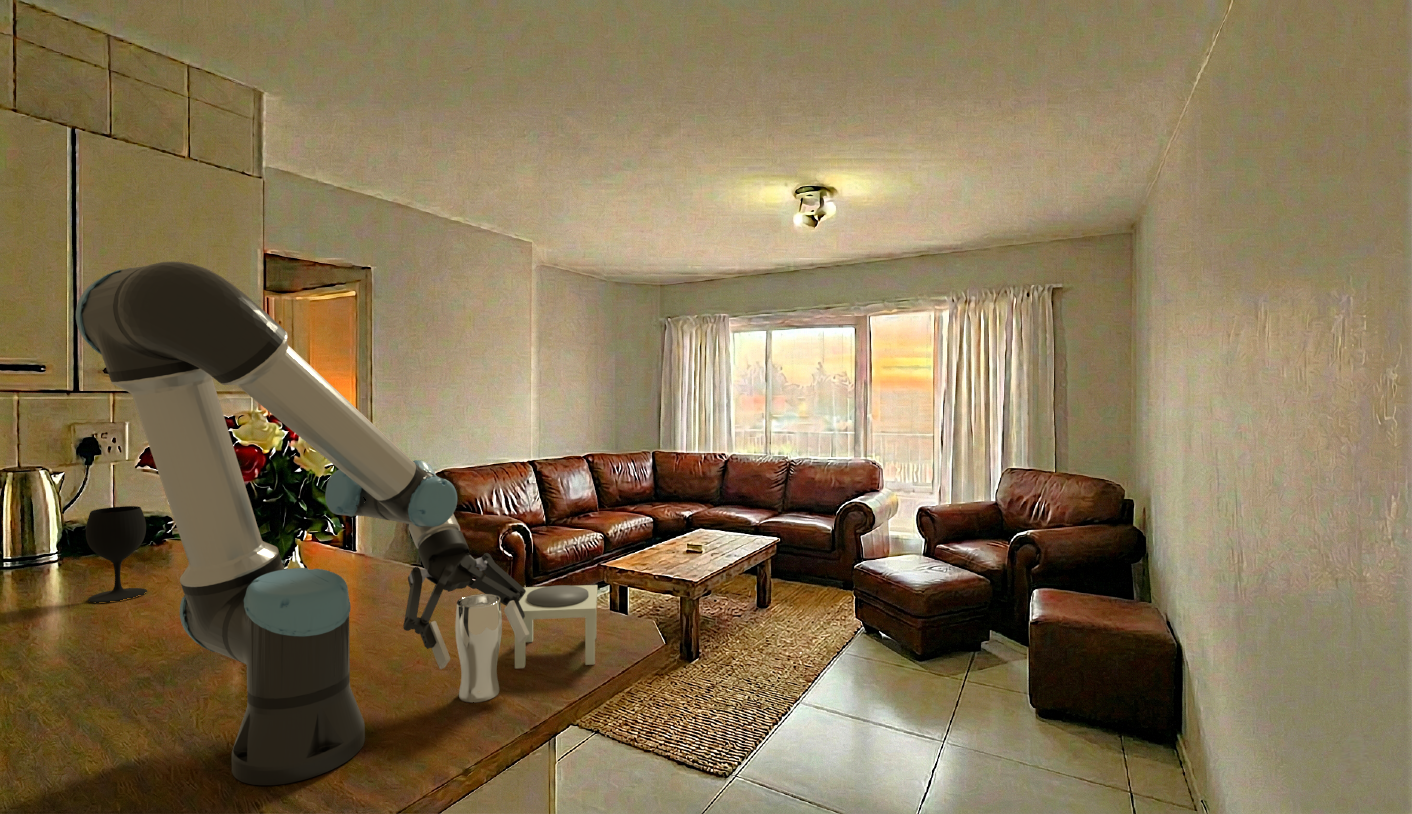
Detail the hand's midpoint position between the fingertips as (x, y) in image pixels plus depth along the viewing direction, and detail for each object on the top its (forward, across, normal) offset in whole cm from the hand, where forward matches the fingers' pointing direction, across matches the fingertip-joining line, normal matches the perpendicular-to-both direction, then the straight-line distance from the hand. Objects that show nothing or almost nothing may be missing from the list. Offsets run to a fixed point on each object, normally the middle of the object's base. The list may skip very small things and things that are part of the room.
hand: (486, 651), depth 106 cm
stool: (0, -19, -10) cm, 21 cm away
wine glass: (-70, +30, -81) cm, 112 cm away
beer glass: (+4, 0, -7) cm, 8 cm away
